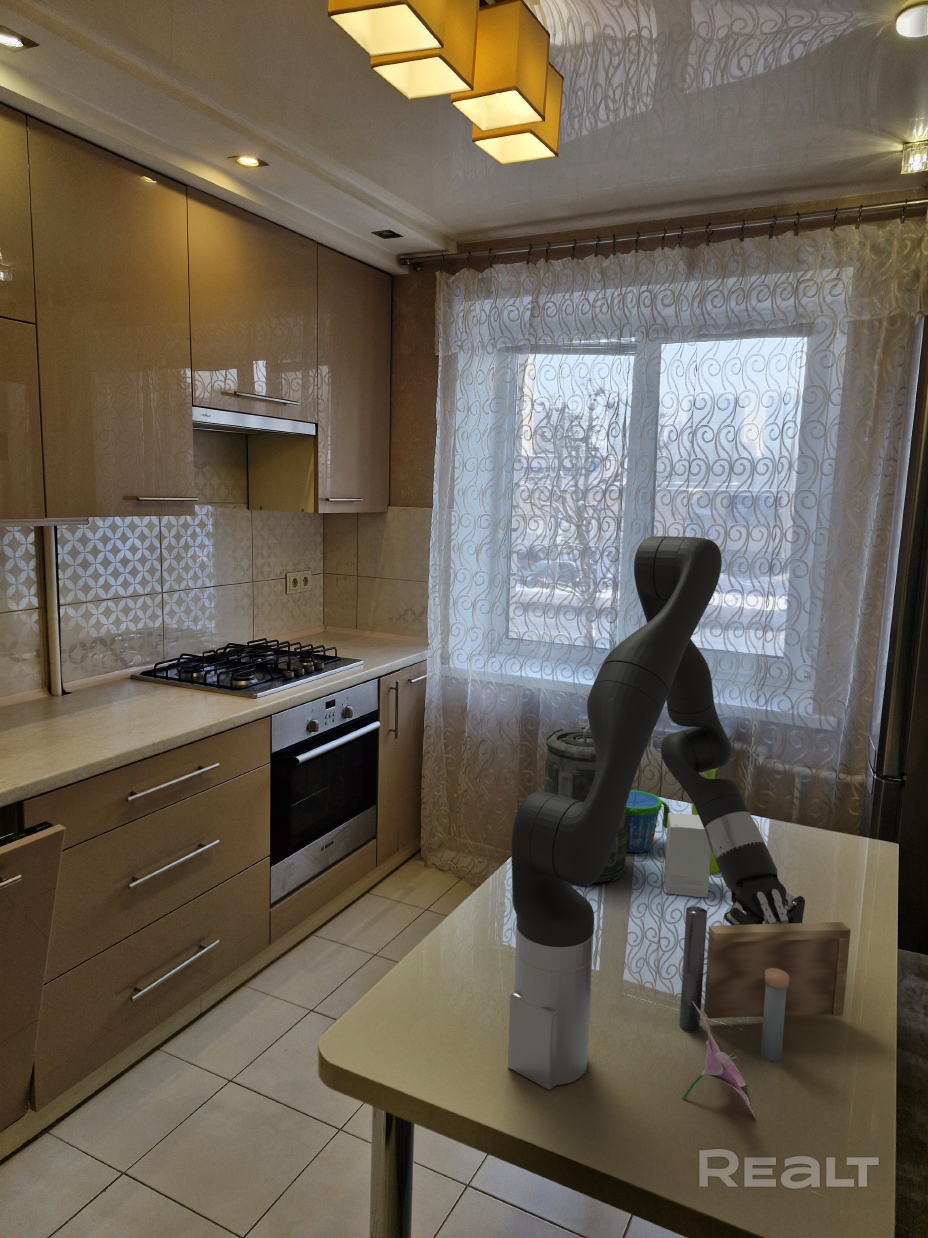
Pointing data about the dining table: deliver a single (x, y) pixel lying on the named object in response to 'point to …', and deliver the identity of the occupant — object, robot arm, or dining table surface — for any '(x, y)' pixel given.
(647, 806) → the snack cup
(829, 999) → the gate
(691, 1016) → the gatepost
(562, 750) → the canister
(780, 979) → the stop post
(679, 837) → the supplement box
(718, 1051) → the lily
